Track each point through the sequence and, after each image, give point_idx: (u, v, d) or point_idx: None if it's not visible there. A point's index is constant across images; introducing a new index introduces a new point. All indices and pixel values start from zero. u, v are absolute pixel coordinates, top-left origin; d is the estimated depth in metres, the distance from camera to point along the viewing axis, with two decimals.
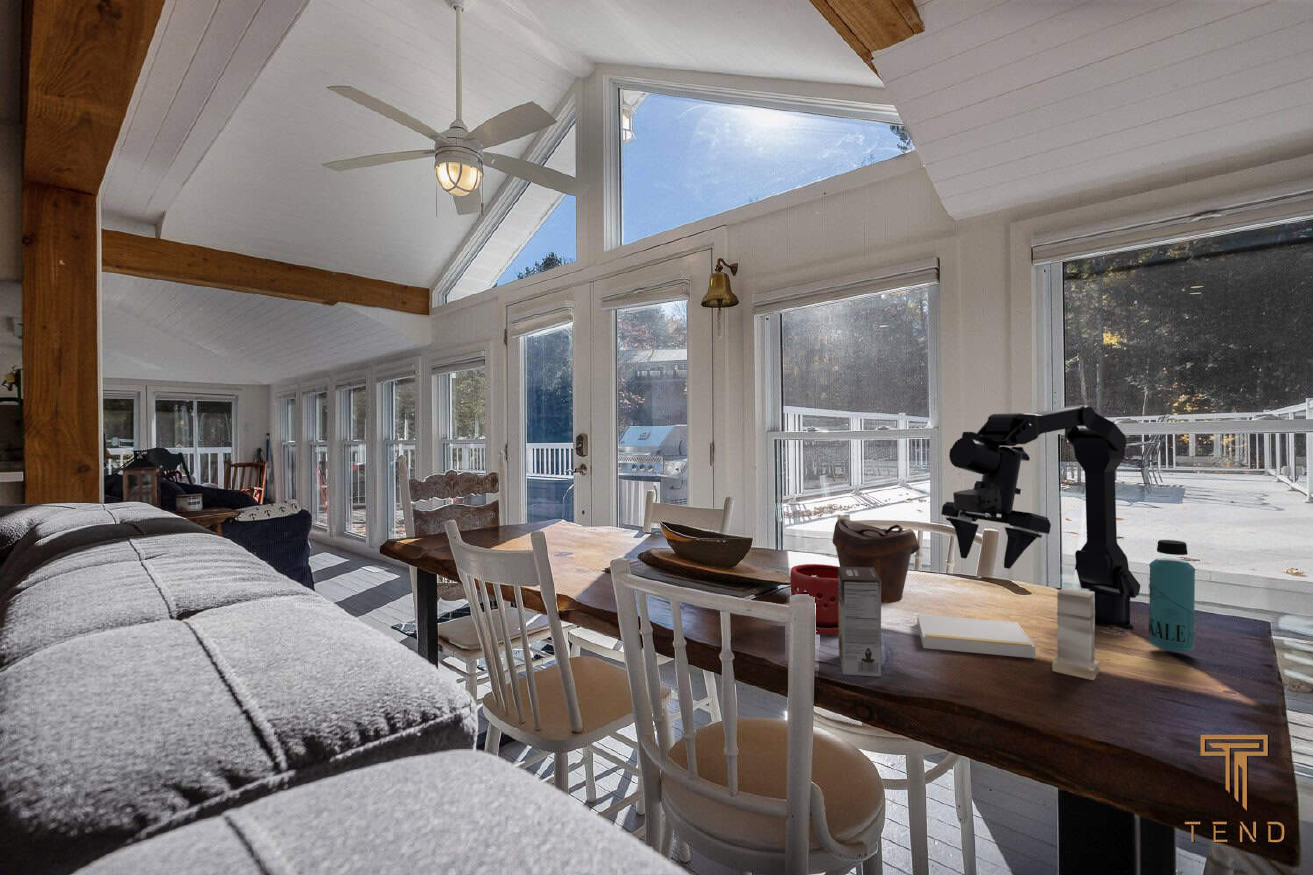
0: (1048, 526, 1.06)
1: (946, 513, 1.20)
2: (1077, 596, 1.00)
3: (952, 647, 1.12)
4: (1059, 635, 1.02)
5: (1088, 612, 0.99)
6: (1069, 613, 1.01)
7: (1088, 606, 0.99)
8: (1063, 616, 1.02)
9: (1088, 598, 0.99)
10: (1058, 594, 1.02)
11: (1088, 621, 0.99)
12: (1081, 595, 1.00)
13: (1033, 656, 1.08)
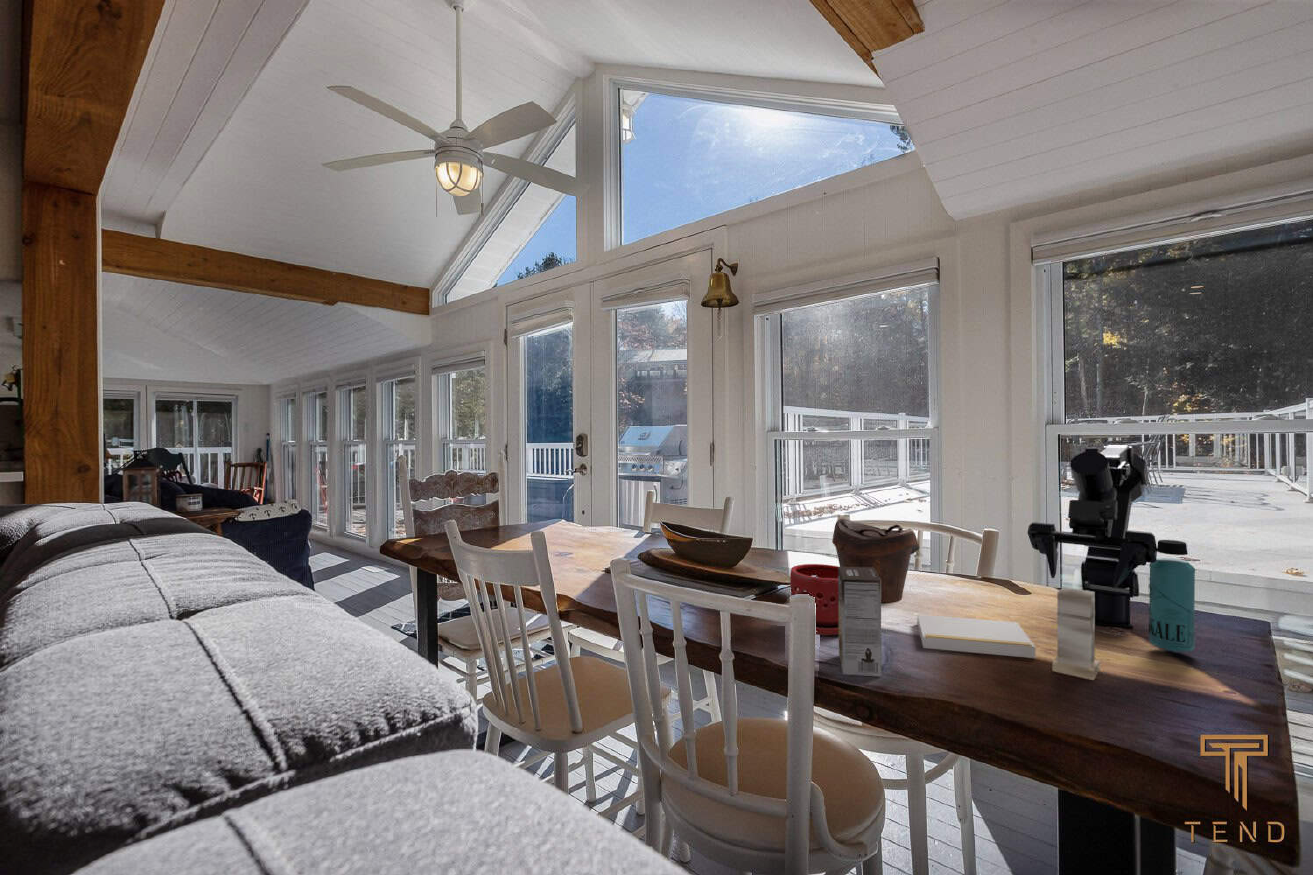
0: (1156, 554, 1.07)
1: (1037, 530, 1.16)
2: (1077, 596, 1.00)
3: (952, 647, 1.12)
4: (1059, 635, 1.02)
5: (1088, 612, 0.99)
6: (1069, 613, 1.01)
7: (1088, 606, 0.99)
8: (1063, 616, 1.02)
9: (1088, 598, 0.99)
10: (1058, 594, 1.02)
11: (1088, 621, 0.99)
12: (1081, 595, 1.01)
13: (1033, 656, 1.08)
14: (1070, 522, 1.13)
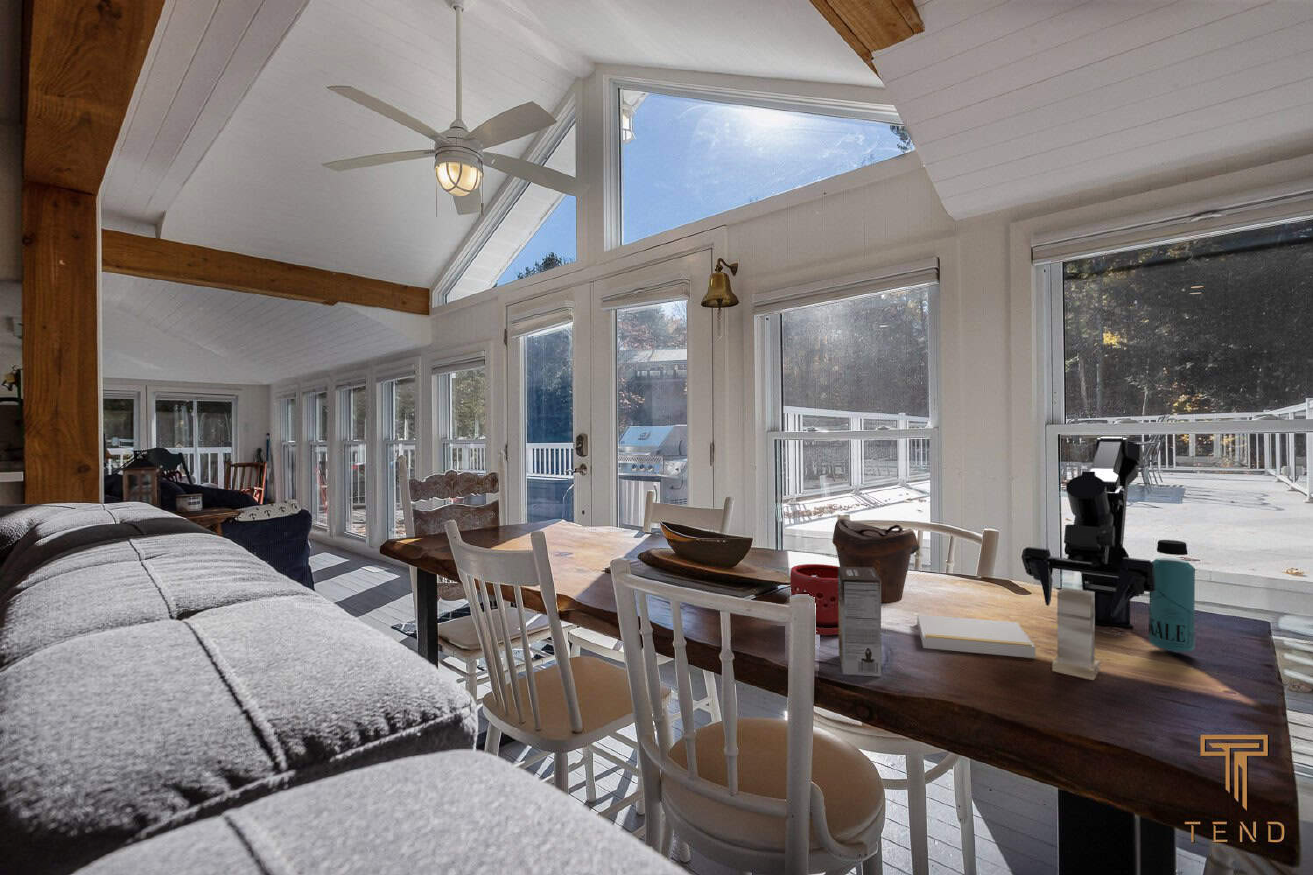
0: None
1: (1032, 555, 1.12)
2: (1077, 596, 1.00)
3: (952, 647, 1.12)
4: (1059, 635, 1.02)
5: (1088, 612, 0.99)
6: (1069, 613, 1.01)
7: (1088, 606, 0.99)
8: (1063, 616, 1.02)
9: (1088, 598, 0.99)
10: (1058, 594, 1.02)
11: (1088, 621, 0.99)
12: (1081, 595, 1.01)
13: (1033, 656, 1.08)
14: (1066, 547, 1.09)
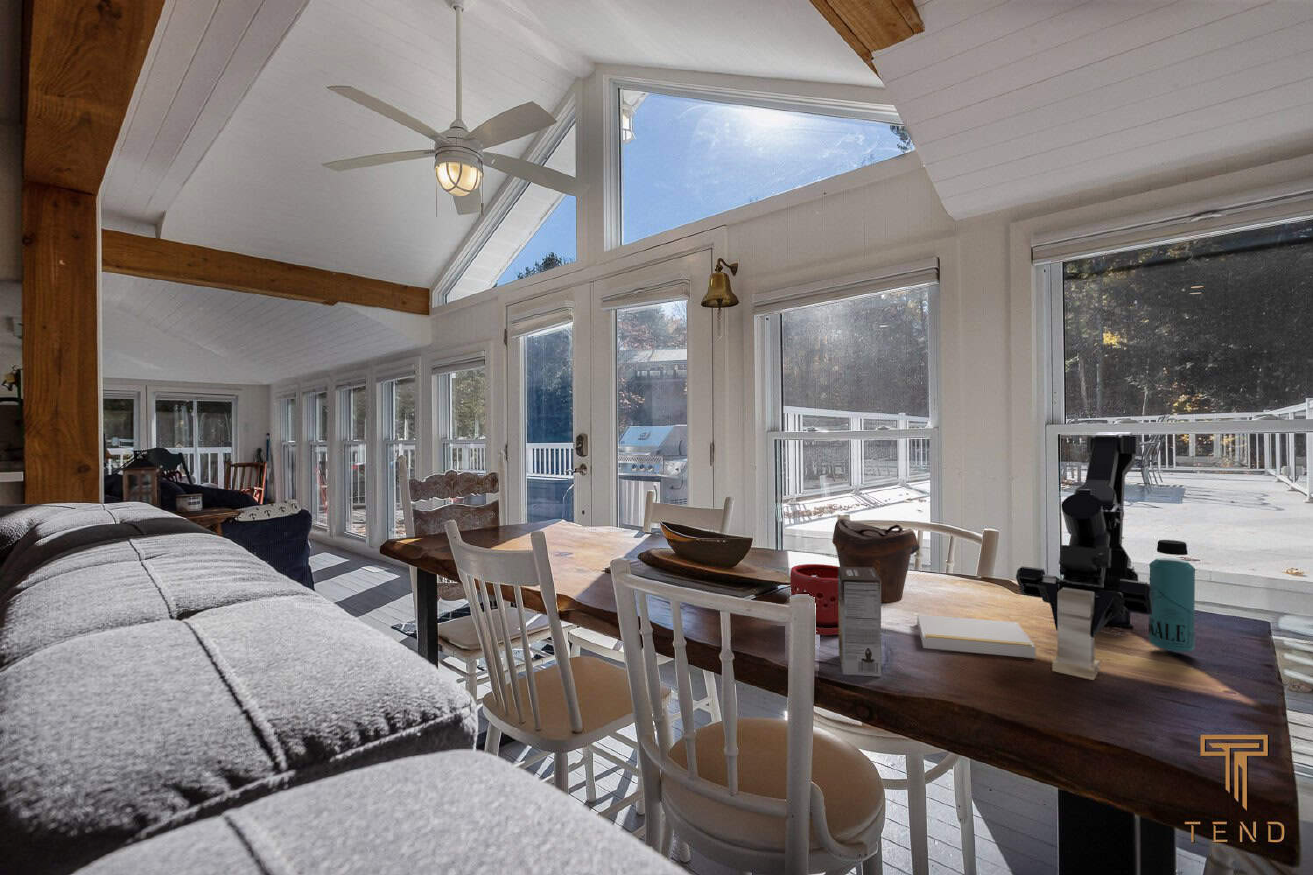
0: (1152, 605, 1.00)
1: (1026, 575, 1.09)
2: (1077, 596, 1.00)
3: (952, 647, 1.12)
4: (1059, 635, 1.02)
5: (1088, 612, 0.99)
6: (1069, 613, 1.01)
7: (1088, 606, 0.99)
8: (1063, 616, 1.02)
9: (1088, 598, 0.99)
10: (1058, 594, 1.02)
11: (1088, 621, 0.99)
12: (1081, 595, 1.01)
13: (1033, 656, 1.08)
14: (1061, 568, 1.07)
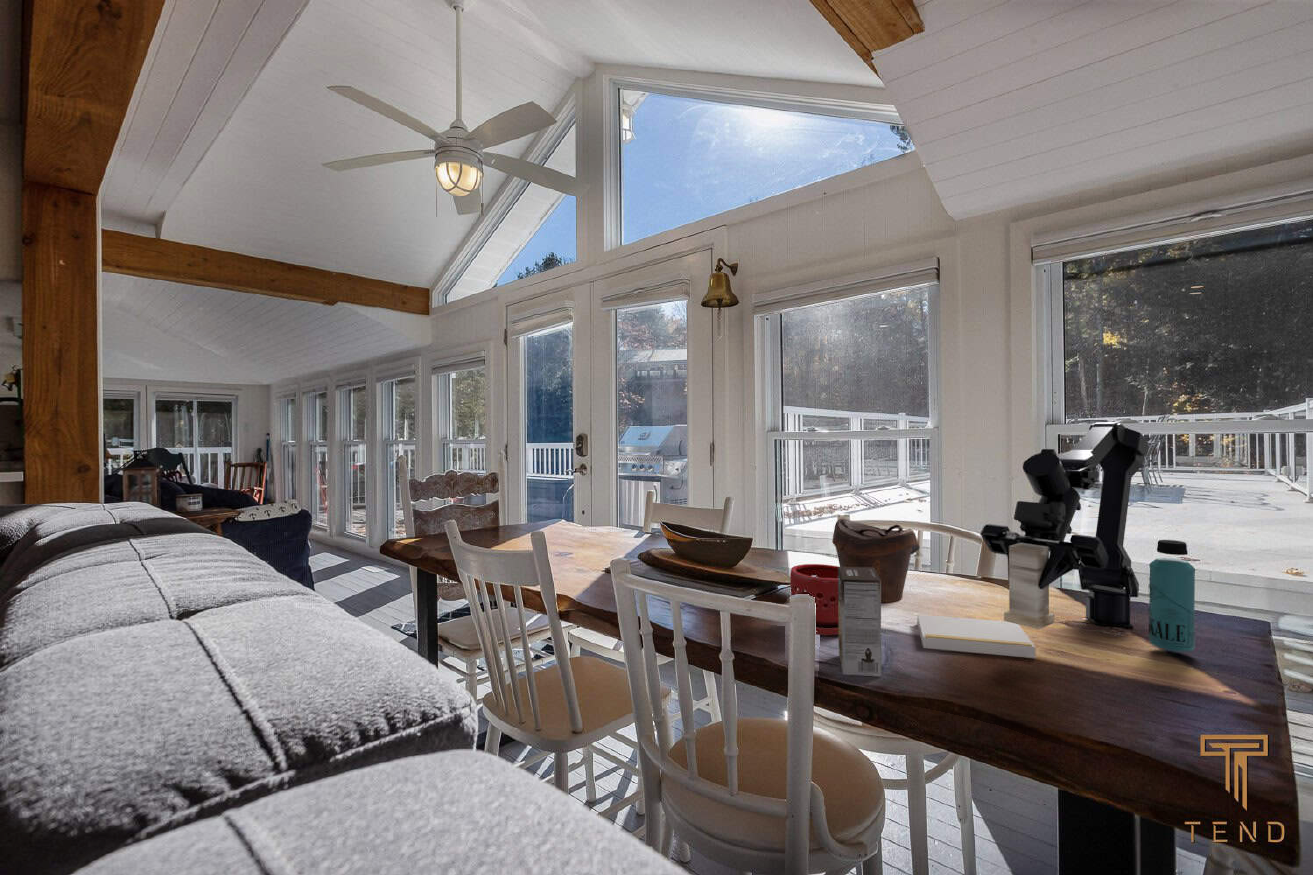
0: (1106, 560, 1.02)
1: (989, 531, 1.13)
2: (1026, 549, 1.04)
3: (952, 647, 1.12)
4: (1010, 587, 1.06)
5: (1035, 564, 1.03)
6: (1019, 566, 1.05)
7: (1035, 558, 1.03)
8: (1014, 568, 1.06)
9: (1035, 550, 1.03)
10: (1009, 547, 1.06)
11: (1035, 573, 1.03)
12: (1030, 548, 1.04)
13: (1033, 656, 1.08)
14: (1021, 525, 1.10)
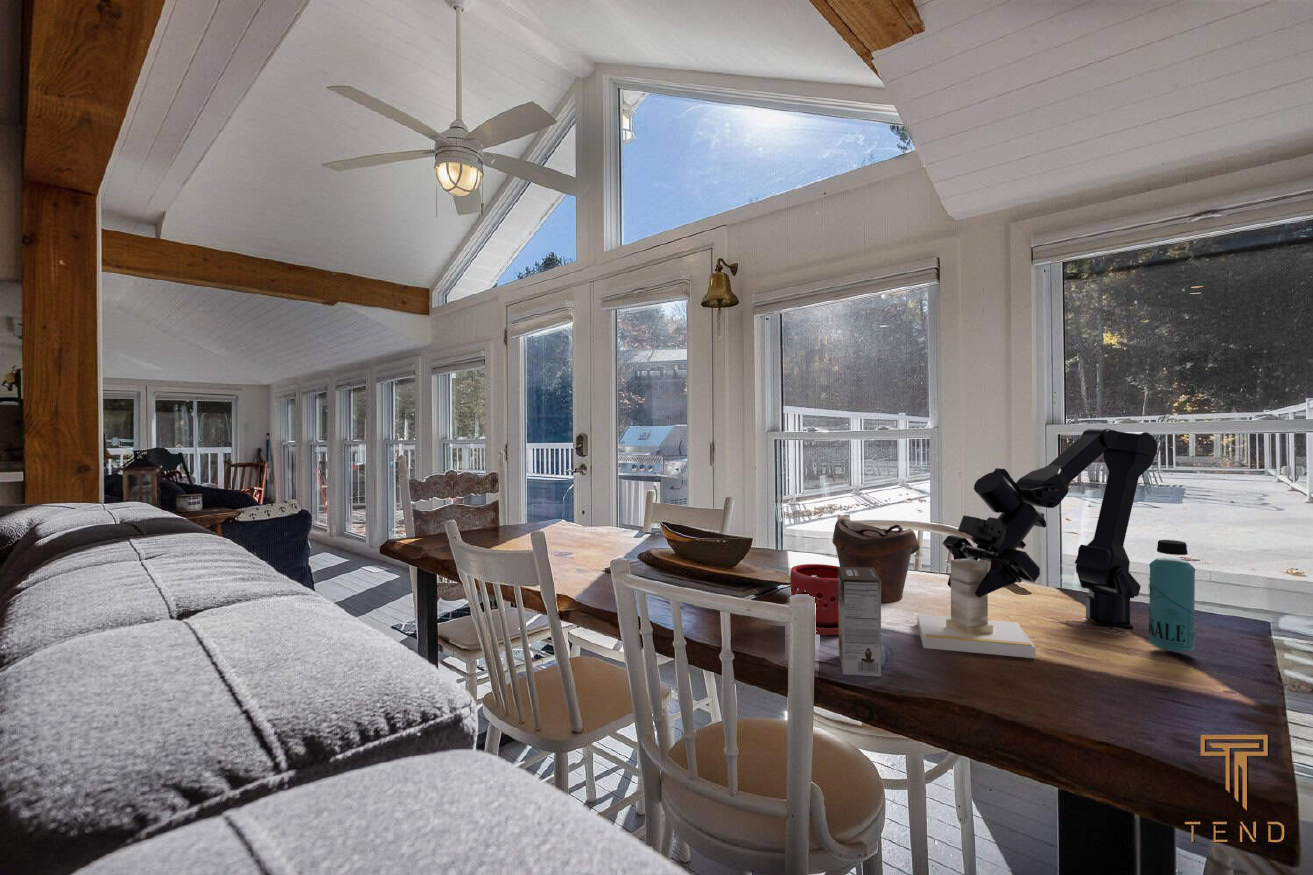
0: (1036, 574, 1.10)
1: (948, 542, 1.25)
2: (961, 563, 1.16)
3: (952, 647, 1.12)
4: (951, 596, 1.18)
5: (967, 577, 1.14)
6: (957, 578, 1.17)
7: (967, 572, 1.14)
8: (953, 580, 1.18)
9: (967, 565, 1.14)
10: (951, 561, 1.18)
11: (967, 585, 1.14)
12: (965, 563, 1.16)
13: (1033, 656, 1.08)
14: (973, 537, 1.20)
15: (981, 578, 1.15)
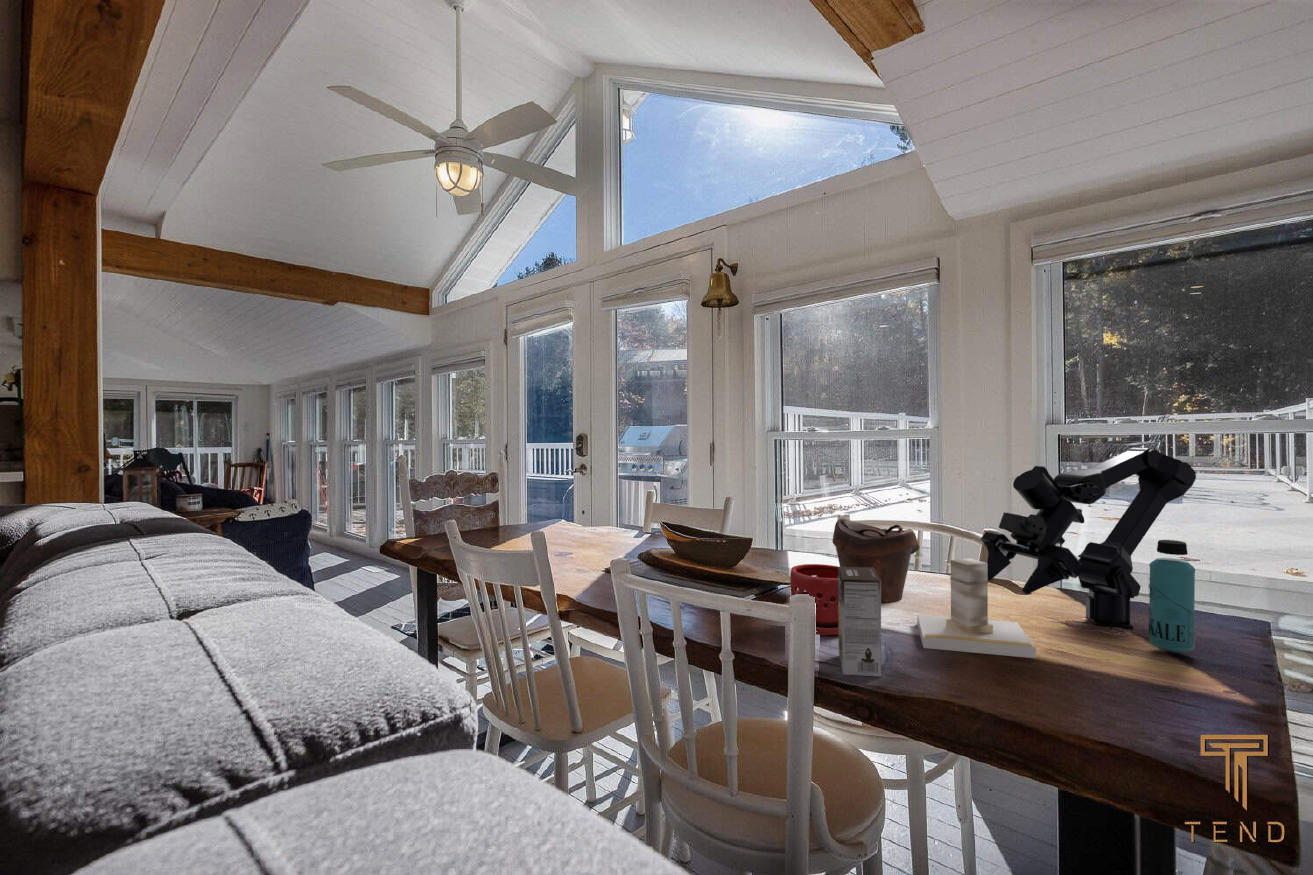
0: (1079, 570, 1.12)
1: (986, 538, 1.27)
2: (961, 563, 1.16)
3: (952, 647, 1.12)
4: (951, 596, 1.18)
5: (967, 577, 1.14)
6: (957, 578, 1.17)
7: (967, 572, 1.14)
8: (953, 580, 1.18)
9: (967, 565, 1.14)
10: (951, 561, 1.18)
11: (967, 585, 1.14)
12: (965, 563, 1.16)
13: (1033, 656, 1.08)
14: (1012, 533, 1.23)
15: (981, 578, 1.15)
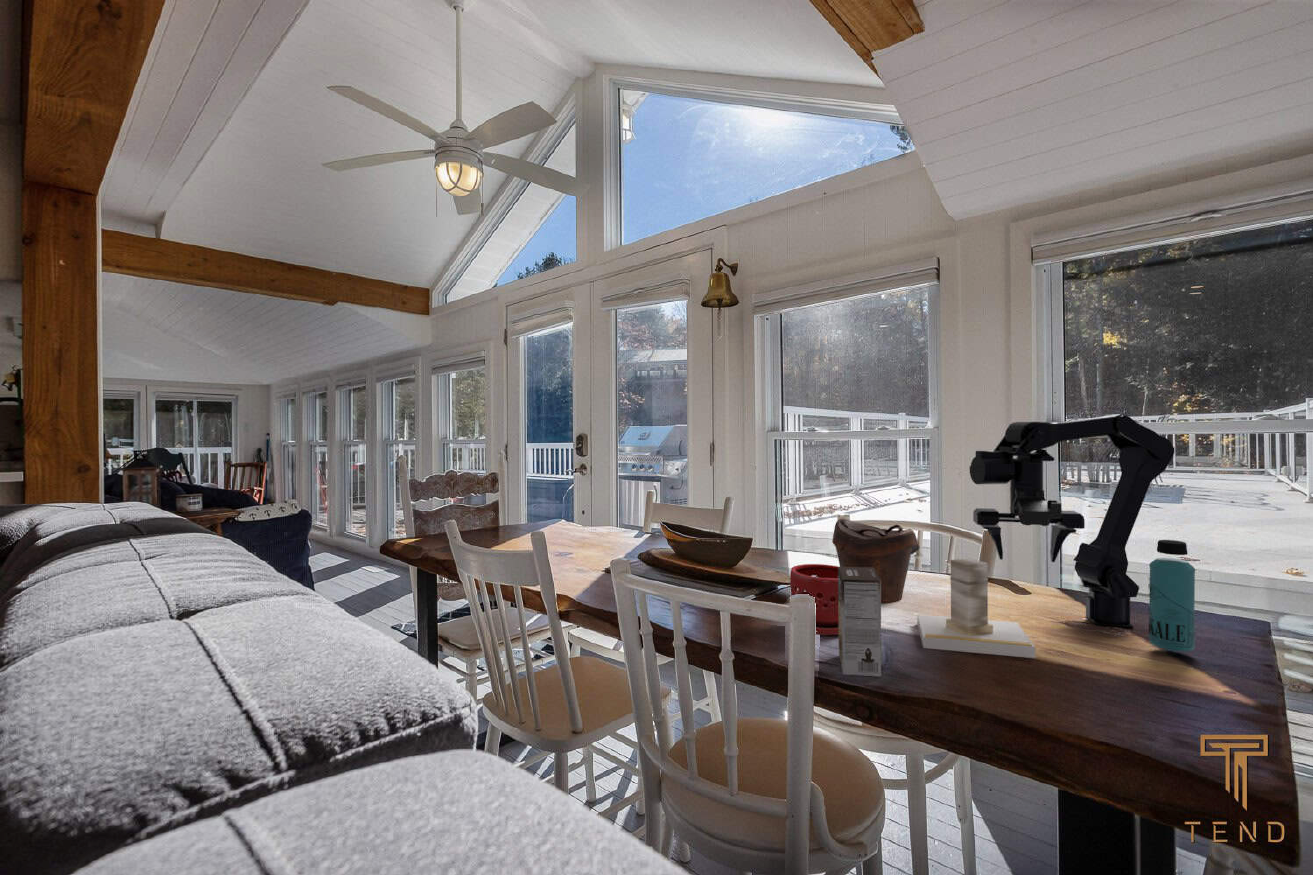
0: None
1: (987, 523, 1.25)
2: (961, 563, 1.16)
3: (952, 647, 1.12)
4: (951, 596, 1.18)
5: (967, 577, 1.14)
6: (957, 578, 1.17)
7: (967, 572, 1.14)
8: (953, 580, 1.18)
9: (967, 565, 1.14)
10: (951, 561, 1.18)
11: (967, 585, 1.14)
12: (965, 563, 1.16)
13: (1033, 656, 1.08)
14: (1014, 512, 1.23)
15: (981, 578, 1.15)
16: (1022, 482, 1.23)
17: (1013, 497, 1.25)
